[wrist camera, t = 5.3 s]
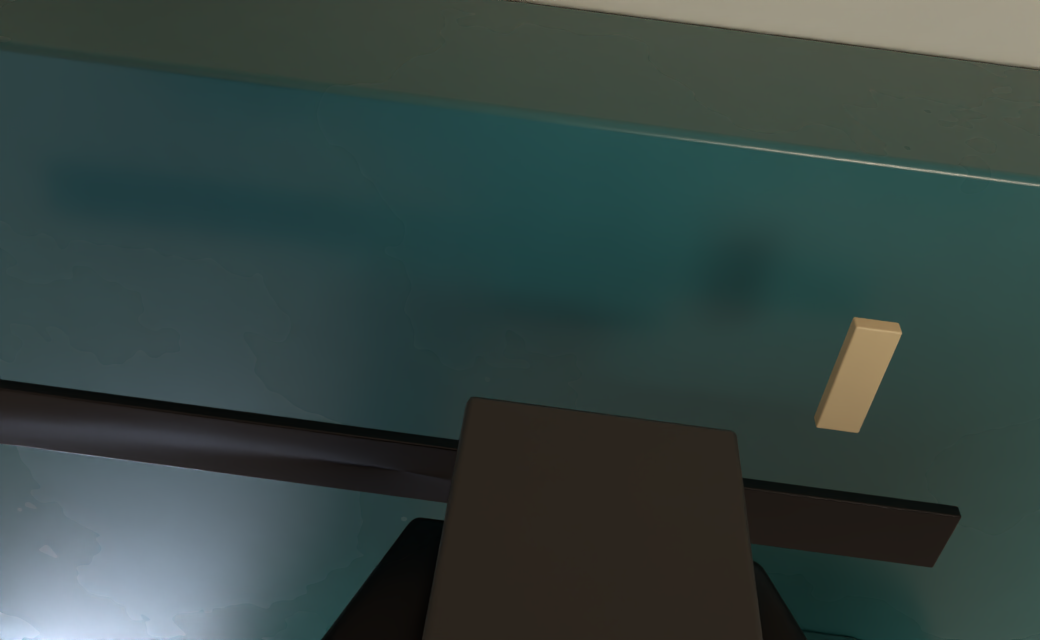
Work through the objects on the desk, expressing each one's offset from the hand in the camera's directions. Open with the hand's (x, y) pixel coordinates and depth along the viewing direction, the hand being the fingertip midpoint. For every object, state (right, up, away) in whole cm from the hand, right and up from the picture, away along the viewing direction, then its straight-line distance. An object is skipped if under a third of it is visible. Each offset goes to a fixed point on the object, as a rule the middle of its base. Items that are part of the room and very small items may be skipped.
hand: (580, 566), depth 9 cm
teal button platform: (-1, +1, +7) cm, 7 cm away
